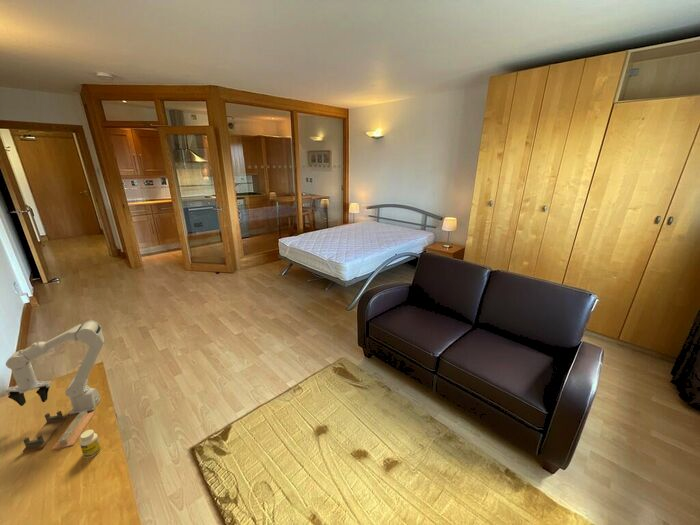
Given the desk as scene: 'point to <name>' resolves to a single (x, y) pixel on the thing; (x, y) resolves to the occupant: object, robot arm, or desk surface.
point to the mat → (75, 433)
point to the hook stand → (44, 433)
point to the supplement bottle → (89, 443)
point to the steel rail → (73, 428)
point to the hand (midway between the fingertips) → (34, 402)
